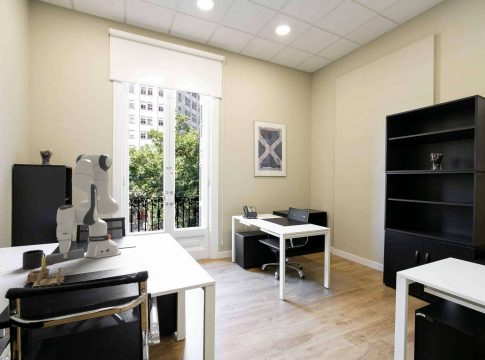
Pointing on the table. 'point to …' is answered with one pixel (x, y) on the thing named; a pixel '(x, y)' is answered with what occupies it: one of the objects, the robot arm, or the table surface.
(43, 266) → the pin
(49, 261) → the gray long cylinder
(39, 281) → the peg rack
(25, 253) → the mug
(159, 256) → the table surface
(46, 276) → the tan lumpy piece
